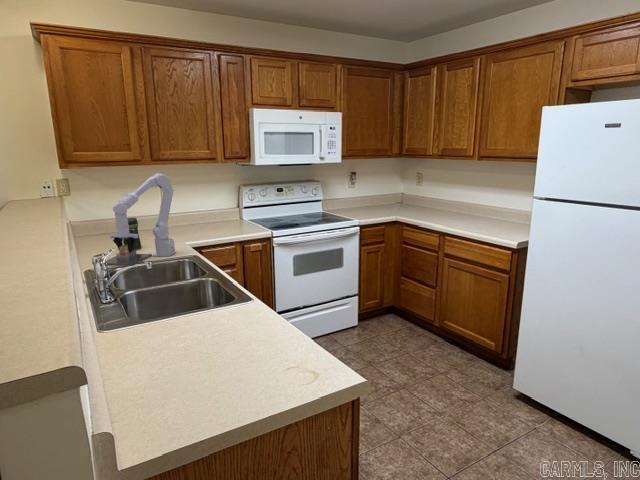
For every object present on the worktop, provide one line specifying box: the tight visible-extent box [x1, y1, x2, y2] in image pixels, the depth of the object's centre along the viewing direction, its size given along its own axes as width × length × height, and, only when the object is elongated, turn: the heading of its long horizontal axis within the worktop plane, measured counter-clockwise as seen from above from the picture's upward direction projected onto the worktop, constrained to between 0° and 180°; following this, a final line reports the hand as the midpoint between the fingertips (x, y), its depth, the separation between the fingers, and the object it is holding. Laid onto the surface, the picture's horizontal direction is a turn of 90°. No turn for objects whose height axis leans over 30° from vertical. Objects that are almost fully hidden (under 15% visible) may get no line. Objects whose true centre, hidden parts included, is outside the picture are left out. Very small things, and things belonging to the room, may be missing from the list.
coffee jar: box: [122, 217, 143, 251], centre depth 238 cm, size 10×8×19 cm
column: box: [119, 245, 131, 254], centre depth 215 cm, size 4×4×6 cm
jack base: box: [105, 250, 153, 266], centre depth 215 cm, size 18×18×4 cm
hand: (126, 251), depth 215 cm, fingers open, 5 cm apart
